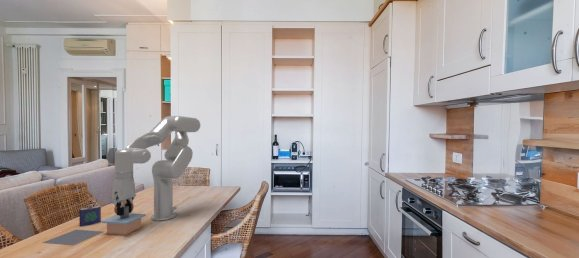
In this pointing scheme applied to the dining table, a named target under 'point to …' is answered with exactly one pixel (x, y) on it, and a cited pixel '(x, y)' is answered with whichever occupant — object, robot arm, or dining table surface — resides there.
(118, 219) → the lid
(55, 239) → the mat
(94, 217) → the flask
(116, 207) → the coconut
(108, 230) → the open cube shelf
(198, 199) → the dining table surface
